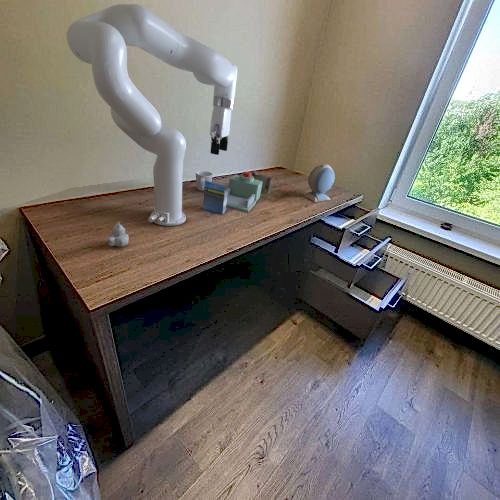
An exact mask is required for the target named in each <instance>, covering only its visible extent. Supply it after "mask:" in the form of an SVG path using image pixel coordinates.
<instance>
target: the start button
mask: <svg viewBox="0 0 500 500" xmlns="http://www.w3.org/2000/svg"><path fill="white" fill-rule="evenodd" d="M242 174H243V177H247V178H251V174H252V172H250V171H243V173H242Z"/></svg>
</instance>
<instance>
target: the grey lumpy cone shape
mask: <svg viewBox="0 0 500 500" xmlns="http://www.w3.org/2000/svg"><path fill="white" fill-rule="evenodd" d="M111 229H112V233H111V234H110V235H109V236H108V237H107V238H106V242H107V243H108V246H109V247H114V246H116V247H118V248H122V247H125V246H127V245H128V244H129V242H130V236H129V235H128V233H126V228H125V227H124V226H123V225H122V224H120V221H118V222H117V223H115V224H114V225H113V227H112V228H111Z"/></svg>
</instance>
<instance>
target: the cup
mask: <svg viewBox="0 0 500 500" xmlns="http://www.w3.org/2000/svg"><path fill="white" fill-rule="evenodd" d="M213 177H214V176H213V173H212V172H211V171H206V170H198V171H195V185H196V189H197V190H198V191H200V192H204V186H205V180H206V181H209V182H213Z"/></svg>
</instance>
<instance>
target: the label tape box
mask: <svg viewBox="0 0 500 500" xmlns="http://www.w3.org/2000/svg"><path fill="white" fill-rule="evenodd" d="M225 190H226V185H224V184H220V183H216V182H213V181H212V182H209V181H206V180H205V186H204V191H203V204H202V205H203V206H202V207H203V208H202V209H203V210H204V211H209V212H213V213H216V214H220V215H224V214H225V212H227V211H226V210H227V207H226V202H227V192H224V191H225Z"/></svg>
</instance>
